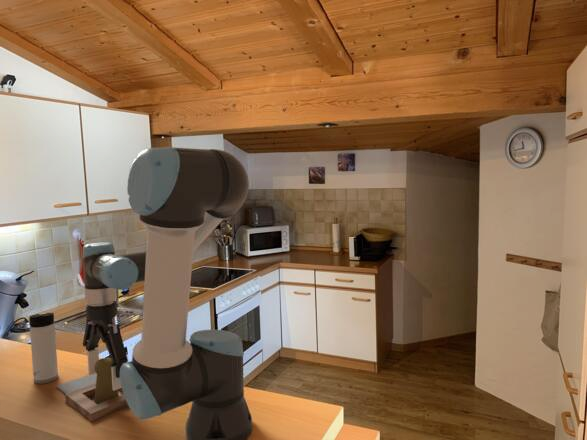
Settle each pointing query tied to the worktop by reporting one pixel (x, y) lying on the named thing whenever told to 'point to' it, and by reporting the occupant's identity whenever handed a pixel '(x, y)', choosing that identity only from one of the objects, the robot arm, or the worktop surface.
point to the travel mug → (43, 348)
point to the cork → (104, 381)
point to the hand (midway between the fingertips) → (105, 380)
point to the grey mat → (77, 383)
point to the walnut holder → (91, 409)
